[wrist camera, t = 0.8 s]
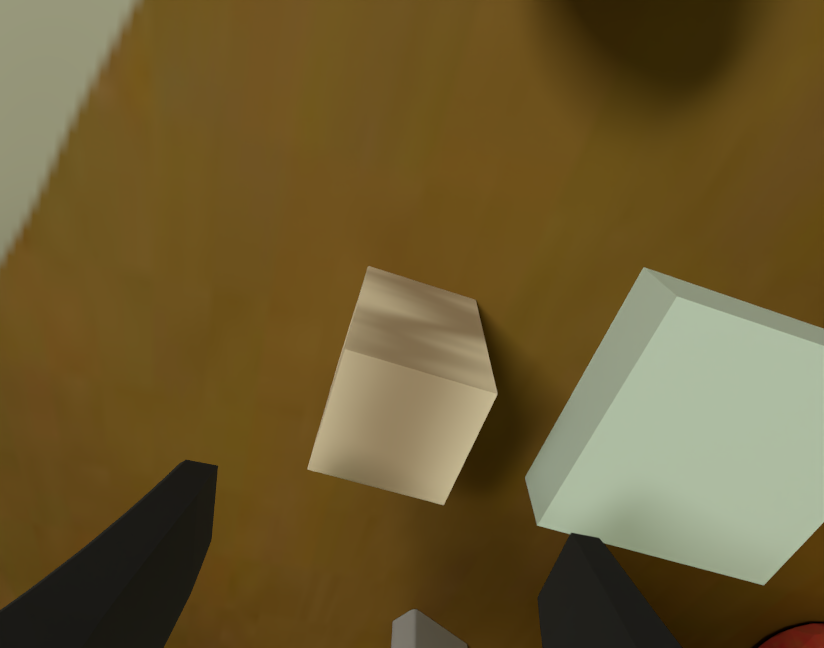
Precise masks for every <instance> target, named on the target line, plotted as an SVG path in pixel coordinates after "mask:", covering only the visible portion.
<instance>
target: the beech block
mask: <svg viewBox="0 0 824 648" xmlns="http://www.w3.org/2000/svg"><path fill="white" fill-rule="evenodd" d="M497 394H498V393H497V389H496V385H495V381H494V376H493V372H492V368H491V363H490V359H489V355H488V350H487V346H486V342H485V338H484V333H483V329H482V325H481V320H480V316H479V312H478V307H477V303H476V300H474V299H471V298H468V297H465V296H462V295H458V294H455V293H452V292H449V291H446V290H443V289H439V288H436V287H433V286H430V285H427V284H424V283H421V282H417V281H414V280H411V279H408V278H405V277H402V276H399V275H395V274H392V273H389V272H386V271H383V270H380V269H377V268H373V267H370V266H368V268H367V272H366V275H365V278H364V281H363V285H362V288H361V291H360V294H359V297H358V301H357V304H356V307H355V310H354V313H353V317H352V320H351V323H350V326H349V330H348V333H347V336H346V339H345V342H344V346H343V349H342V352H341V355H340V358H339V362H338V365H337V369H336V372H335V376H334V379H333V382H332V386H331V389H330V393H329V396H328V400H327V403H326V406H325V410H324V413H323V417H322V420H321V424H320V427H319V430H318V434H317V437H316V441H315V444H314V448H313V451H312V454H311V458H310V461H309V465H308V468H307V469H308V470H312V471H316V472H320V473H323V474H327V475H331V476H335V477H339V478H342V479H346V480H350V481H354V482H358V483H361V484H365V485H369V486H373V487H377V488H380V489H384V490H388V491H392V492H396V493H399V494H403V495H407V496H411V497H415V498H418V499H422V500H426V501H430V502H434V503H437V504H441V505H444V503H445V501H446V499H447V497H448V495H449V493H450V491H451V489H452V487H453V485H454V483H455V481H456V479H457V477H458V475H459V473H460V471H461V468H462V466H463V464H464V462H465V460H466V458H467V456H468V454H469V452H470V450H471V448H472V446H473V444H474V442H475V440H476V438H477V436H478V433H479V431H480V429H481V427H482V425H483V423H484V421H485V419H486V417H487V415H488V413H489V411H490V409H491V407H492V405H493V403H494V401H495V399H496V396H497Z"/></svg>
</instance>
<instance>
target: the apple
mask: <svg viewBox="0 0 824 648" xmlns="http://www.w3.org/2000/svg"><path fill="white" fill-rule="evenodd" d="M758 648H824V624H817V623H812V624H807V625H802V626H798V627H794V628H792V629H789V630H786V631H783V632H781V633H778V634H777V635H775V636H773V637H772V638H770V639H768V640H767V641H765V642H764V643H763V644H762V645H761V646H759V647H758Z"/></svg>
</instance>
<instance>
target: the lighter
mask: <svg viewBox="0 0 824 648" xmlns="http://www.w3.org/2000/svg"><path fill="white" fill-rule="evenodd" d="M391 648H467V644H466V643H464V642H463V641H462V640H460V639H459V638H457V637H456V636H454V635H453V634H452V633H450V632H449V631H447V630H446V629H444V628H443V627H442V626H440V625H439V624H437V623H436V622H434V621H433V620H432V619H430V618H429V617H427V616H426V615H424V614H423V613H422V612H420V611H419V610H417V609H412V610H410V611H409V612H407V613H406V614H404V615H402V616H401V617H399V618H397V619H396V620H394V621H393V627H392V645H391Z"/></svg>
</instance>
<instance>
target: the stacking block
mask: <svg viewBox="0 0 824 648" xmlns="http://www.w3.org/2000/svg"><path fill="white" fill-rule="evenodd" d="M525 480H526V484H527V488H528V492H529V495H530V499H531V503H532V507H533V511H534V515H535V519H536V523H537V526H541V527H545V528H549V529H552V530H556V531H560V532H564V533H568V534H571V533H576V534H581V535H587V536H592V537H597V538H600V539H601V541H602V542H603V543H605V544H609V545H613V546H617V547H621V548H624V549H628V550H632V551H636V552H640V553H643V554H647V555H651V556H655V557H659V558H662V559H666V560H670V561H674V562H677V563H681V564H685V565H689V566H693V567H696V568H700V569H704V570H708V571H712V572H715V573H719V574H723V575H727V576H731V577H734V578H738V579H742V580H746V581H750V582H753V583H757V584H761V585H765V583H766V582H767V581H768V580H769V579H770V578H771V577H772V576H773V575H774V574H775V573H776V572H777V571H778V570H779V569H780V568H781V567H782V566H783V564H784V563H785V562H786V561H787V560H788V559H789V558H790V557H791V556H792V555H793V554H794V553H795V552H796V551H797V550H798V549H799V548H800V547H801V545H802V544H803V543H804V542H805V541H806V540H807V539H808V538H809V537H810V536H811V535H812V534H813V533H814V532H815V531H816V530H817V529H818V527H819V526H820V525H821V524H822V523H823V522H824V329H823V328H820V327H817V326H814V325H811V324H808V323H805V322H802V321H799V320H796V319H794V318H791V317H788V316H785V315H782V314H779V313H776V312H773V311H770V310H767V309H764V308H761V307H758V306H756V305H753V304H750V303H747V302H744V301H741V300H738V299H735V298H732V297H729V296H726V295H723V294H720V293H718V292H715V291H712V290H709V289H706V288H703V287H700V286H697V285H694V284H691V283H688V282H685V281H682V280H680V279H677V278H674V277H671V276H668V275H665V274H662V273H659V272H656V271H653V270H650V269H647V268H644V267H643V269H642V271H641V273H640V275H639V276H638V278H637V280H636V282H635V283H634V285H633V287H632V289H631V291H630V292H629V294H628V296H627V298H626V299H625V301H624V303H623V305H622V306H621V308H620V310H619V312H618V314H617V315H616V317H615V319H614V321H613V322H612V324H611V326H610V328H609V329H608V331H607V333H606V335H605V337H604V338H603V340H602V342H601V344H600V345H599V347H598V349H597V351H596V353H595V354H594V356H593V358H592V360H591V361H590V363H589V365H588V367H587V368H586V370H585V372H584V374H583V376H582V377H581V379H580V381H579V383H578V384H577V386H576V388H575V390H574V391H573V393H572V395H571V397H570V399H569V400H568V402H567V404H566V406H565V407H564V409H563V411H562V413H561V415H560V416H559V418H558V420H557V422H556V423H555V425H554V427H553V429H552V430H551V432H550V434H549V436H548V438H547V439H546V441H545V443H544V445H543V446H542V448H541V450H540V452H539V454H538V455H537V457H536V459H535V461H534V462H533V464H532V466H531V468H530V469H529V471H528V473H527V475H526V477H525Z"/></svg>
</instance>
